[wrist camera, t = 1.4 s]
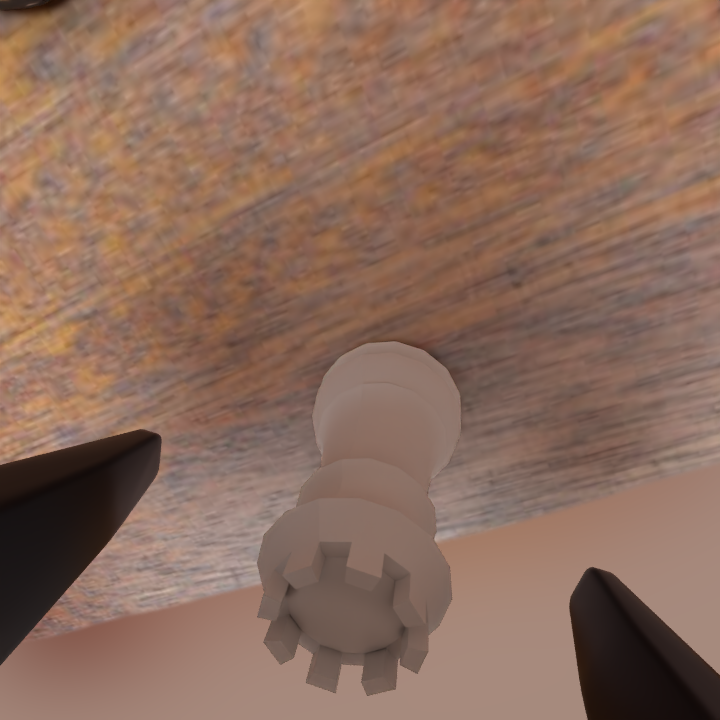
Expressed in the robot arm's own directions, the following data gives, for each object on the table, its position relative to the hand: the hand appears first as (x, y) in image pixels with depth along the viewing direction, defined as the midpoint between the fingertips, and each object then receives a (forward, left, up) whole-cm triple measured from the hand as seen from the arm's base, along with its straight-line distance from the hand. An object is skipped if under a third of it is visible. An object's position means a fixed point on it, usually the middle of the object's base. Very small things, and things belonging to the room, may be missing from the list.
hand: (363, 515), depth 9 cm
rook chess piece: (0, 0, -6) cm, 6 cm away
